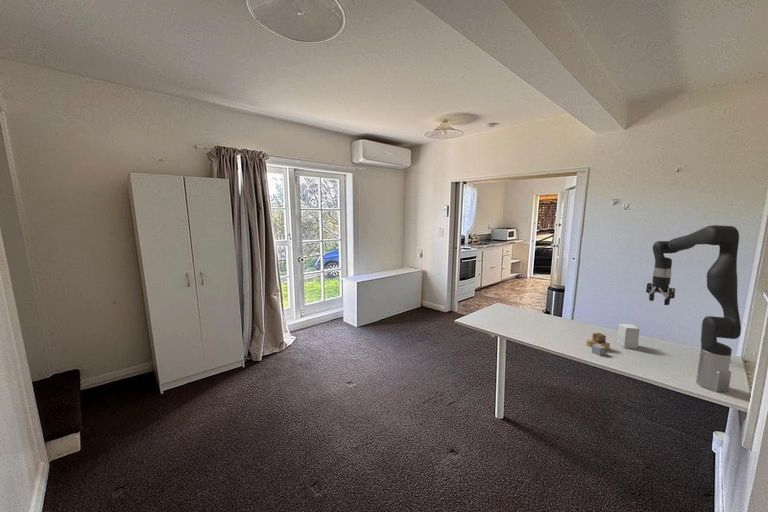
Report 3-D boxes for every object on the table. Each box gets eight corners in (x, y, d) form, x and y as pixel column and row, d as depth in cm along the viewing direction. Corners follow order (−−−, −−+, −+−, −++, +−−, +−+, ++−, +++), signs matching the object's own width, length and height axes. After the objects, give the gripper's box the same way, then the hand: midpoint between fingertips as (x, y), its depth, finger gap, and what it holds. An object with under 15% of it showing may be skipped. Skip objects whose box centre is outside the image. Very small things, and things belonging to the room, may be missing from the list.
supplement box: (638, 349, 175) (640, 328, 173) (623, 348, 177) (625, 327, 175) (630, 343, 182) (632, 324, 181) (616, 342, 184) (618, 323, 182)
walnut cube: (605, 343, 175) (605, 335, 175) (598, 343, 175) (598, 336, 174) (599, 339, 180) (599, 332, 179) (592, 340, 180) (592, 333, 179)
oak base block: (609, 349, 175) (609, 343, 175) (598, 351, 173) (599, 345, 173) (596, 344, 183) (597, 338, 182) (586, 345, 181) (586, 339, 180)
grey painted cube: (604, 354, 169) (605, 347, 169) (599, 355, 168) (600, 348, 167) (596, 351, 173) (597, 344, 173) (591, 352, 172) (592, 345, 171)
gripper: (681, 278, 163) (677, 306, 165) (655, 273, 177) (652, 299, 179) (668, 278, 162) (665, 306, 164) (644, 273, 176) (641, 299, 178)
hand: (658, 302), depth 172 cm, fingers open, 8 cm apart
